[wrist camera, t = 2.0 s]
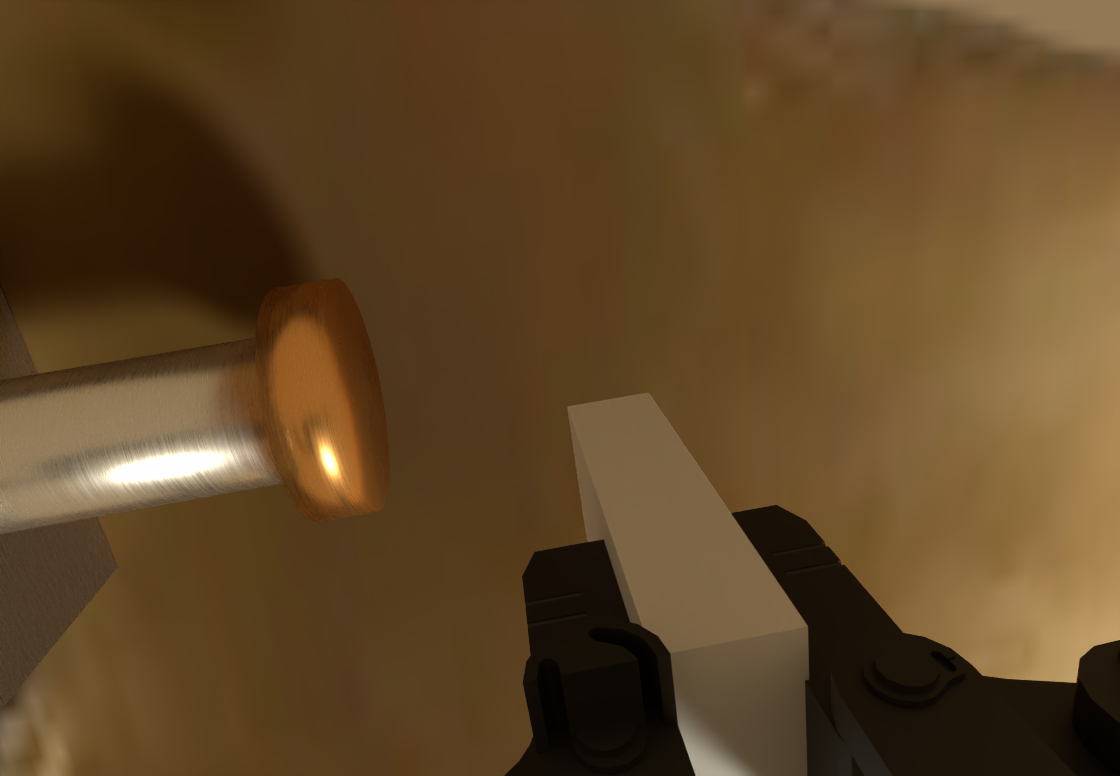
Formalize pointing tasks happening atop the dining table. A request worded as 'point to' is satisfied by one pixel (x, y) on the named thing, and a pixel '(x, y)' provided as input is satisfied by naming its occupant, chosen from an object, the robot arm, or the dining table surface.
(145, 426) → the pin
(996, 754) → the robot arm
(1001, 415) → the dining table surface
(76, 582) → the hitch block
